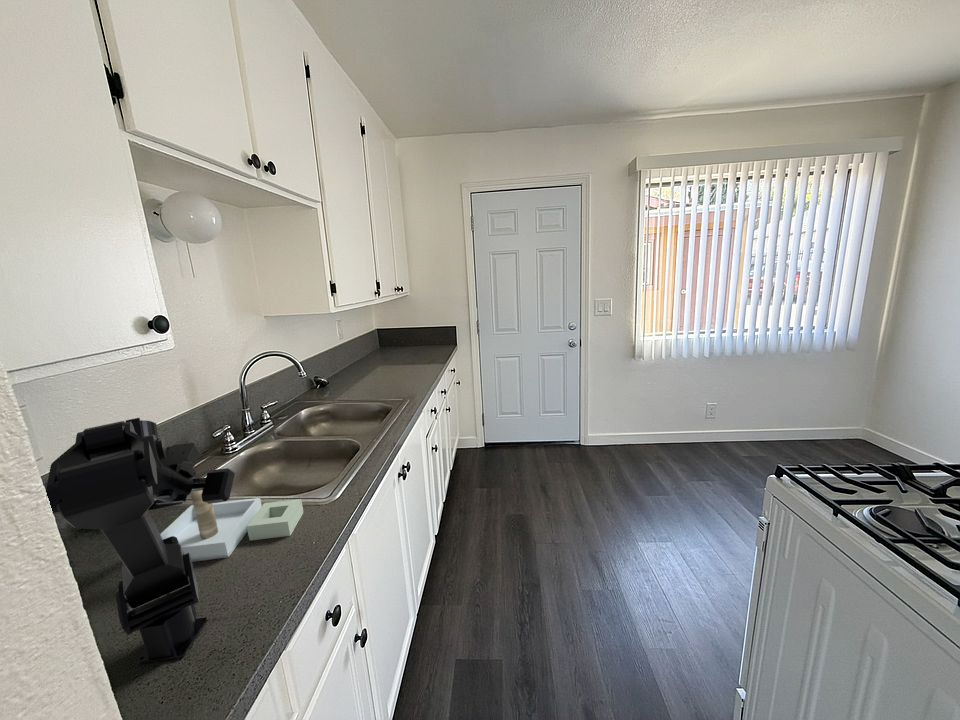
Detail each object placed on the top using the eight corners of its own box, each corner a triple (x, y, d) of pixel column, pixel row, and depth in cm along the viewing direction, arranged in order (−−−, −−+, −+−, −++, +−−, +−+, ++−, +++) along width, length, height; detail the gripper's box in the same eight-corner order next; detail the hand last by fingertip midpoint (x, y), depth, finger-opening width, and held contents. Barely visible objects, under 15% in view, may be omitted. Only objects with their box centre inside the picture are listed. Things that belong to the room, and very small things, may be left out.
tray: (228, 557, 77) (224, 542, 76) (145, 567, 76) (141, 552, 75) (262, 510, 92) (260, 497, 91) (194, 518, 91) (190, 505, 90)
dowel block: (290, 535, 82) (287, 521, 82) (249, 540, 82) (246, 526, 81) (303, 512, 91) (301, 499, 90) (266, 516, 90) (263, 503, 89)
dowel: (213, 538, 82) (202, 488, 80) (197, 539, 82) (185, 489, 79) (221, 528, 85) (211, 480, 83) (206, 529, 85) (195, 481, 82)
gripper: (219, 433, 75) (256, 458, 88) (117, 442, 73) (170, 466, 86) (204, 491, 69) (246, 508, 82) (93, 503, 67) (154, 519, 81)
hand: (204, 498), depth 83 cm, fingers open, 9 cm apart
